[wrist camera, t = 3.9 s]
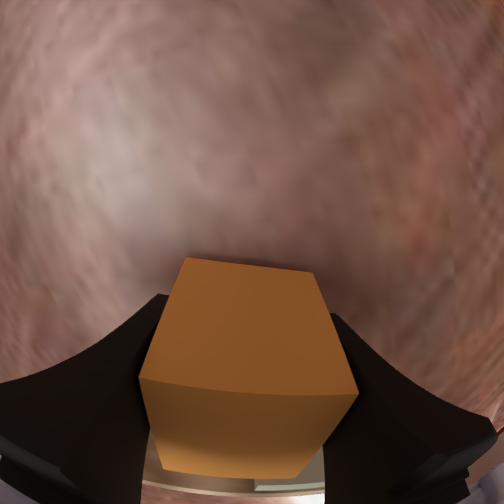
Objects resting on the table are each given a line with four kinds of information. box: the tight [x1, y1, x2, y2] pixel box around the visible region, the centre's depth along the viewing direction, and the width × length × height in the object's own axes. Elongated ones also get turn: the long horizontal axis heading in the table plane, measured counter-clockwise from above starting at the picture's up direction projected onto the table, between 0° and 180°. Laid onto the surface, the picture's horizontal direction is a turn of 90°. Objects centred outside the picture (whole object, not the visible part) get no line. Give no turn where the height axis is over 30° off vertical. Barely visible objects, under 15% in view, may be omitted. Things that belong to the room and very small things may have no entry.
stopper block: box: [139, 257, 359, 479], centre depth 9 cm, size 5×6×6 cm
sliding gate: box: [254, 446, 325, 491], centre depth 14 cm, size 8×4×5 cm, turn 82°
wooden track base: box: [142, 428, 325, 497], centre depth 15 cm, size 18×3×6 cm, turn 82°
